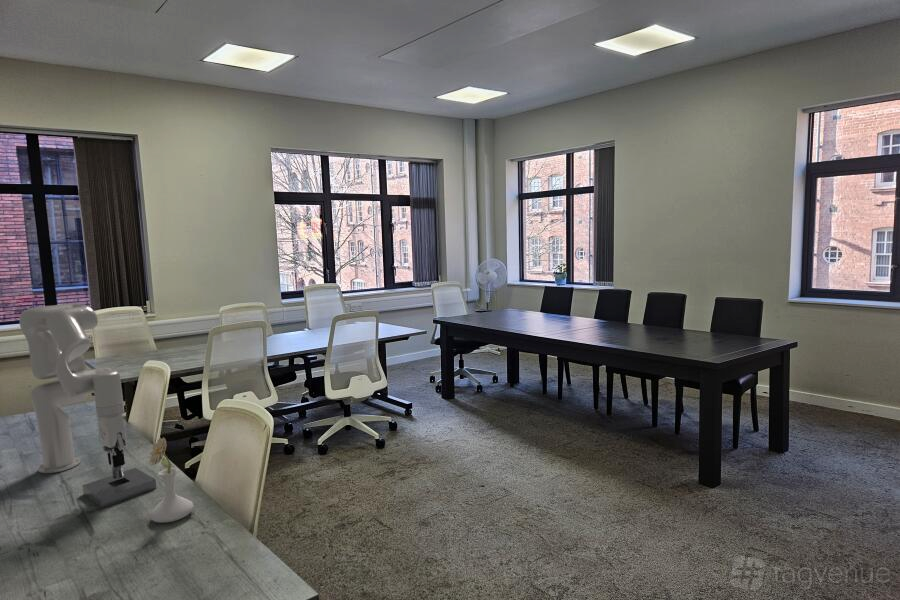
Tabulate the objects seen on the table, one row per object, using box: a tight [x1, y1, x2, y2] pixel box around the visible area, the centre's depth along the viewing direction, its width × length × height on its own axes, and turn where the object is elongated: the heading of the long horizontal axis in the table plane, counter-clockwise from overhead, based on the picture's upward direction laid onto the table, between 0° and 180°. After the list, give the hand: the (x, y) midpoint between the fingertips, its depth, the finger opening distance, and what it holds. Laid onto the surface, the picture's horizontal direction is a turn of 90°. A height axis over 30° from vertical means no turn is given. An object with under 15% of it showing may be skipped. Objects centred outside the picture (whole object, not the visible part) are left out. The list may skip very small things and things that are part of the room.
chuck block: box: [82, 467, 157, 509], centre depth 178 cm, size 16×16×3 cm
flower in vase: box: [149, 437, 195, 524], centre depth 158 cm, size 13×11×25 cm
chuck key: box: [102, 442, 127, 479], centre depth 177 cm, size 3×6×11 cm, turn 141°
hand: (116, 464), depth 177 cm, fingers closed on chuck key, 3 cm apart
